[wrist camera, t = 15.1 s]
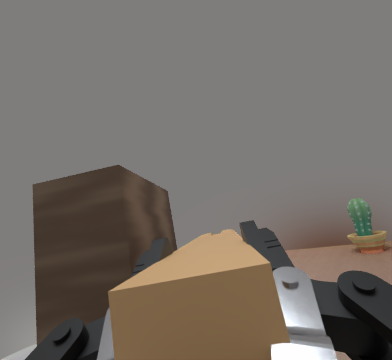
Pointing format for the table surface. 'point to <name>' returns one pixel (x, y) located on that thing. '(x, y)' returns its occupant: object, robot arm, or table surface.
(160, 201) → the step stand
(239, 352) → the slotted slat
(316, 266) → the table surface
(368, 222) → the potted cactus
